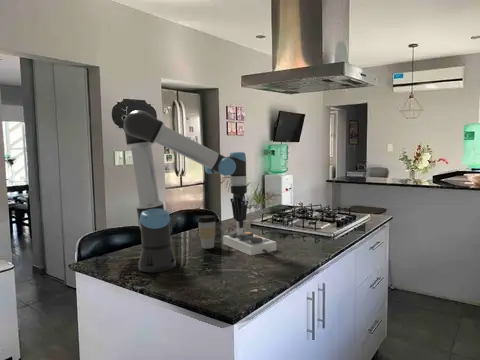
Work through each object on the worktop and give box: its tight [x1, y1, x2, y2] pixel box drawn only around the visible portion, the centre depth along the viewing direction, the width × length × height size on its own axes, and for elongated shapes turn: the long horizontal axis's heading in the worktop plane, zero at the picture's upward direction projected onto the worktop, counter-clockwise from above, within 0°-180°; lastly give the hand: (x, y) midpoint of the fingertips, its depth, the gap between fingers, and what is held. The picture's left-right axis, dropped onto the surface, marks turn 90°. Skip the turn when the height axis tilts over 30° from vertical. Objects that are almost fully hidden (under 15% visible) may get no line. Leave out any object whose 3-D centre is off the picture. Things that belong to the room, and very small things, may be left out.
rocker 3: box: [245, 236, 263, 242], centre depth 180 cm, size 7×4×2 cm, turn 121°
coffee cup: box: [197, 214, 217, 250], centre depth 190 cm, size 9×9×15 cm
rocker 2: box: [236, 231, 254, 240], centre depth 187 cm, size 7×4×2 cm, turn 121°
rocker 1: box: [227, 228, 246, 237], centre depth 194 cm, size 7×4×2 cm, turn 121°
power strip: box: [222, 231, 277, 256], centre depth 185 cm, size 14×34×5 cm, turn 31°
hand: (240, 234), depth 185 cm, fingers closed
